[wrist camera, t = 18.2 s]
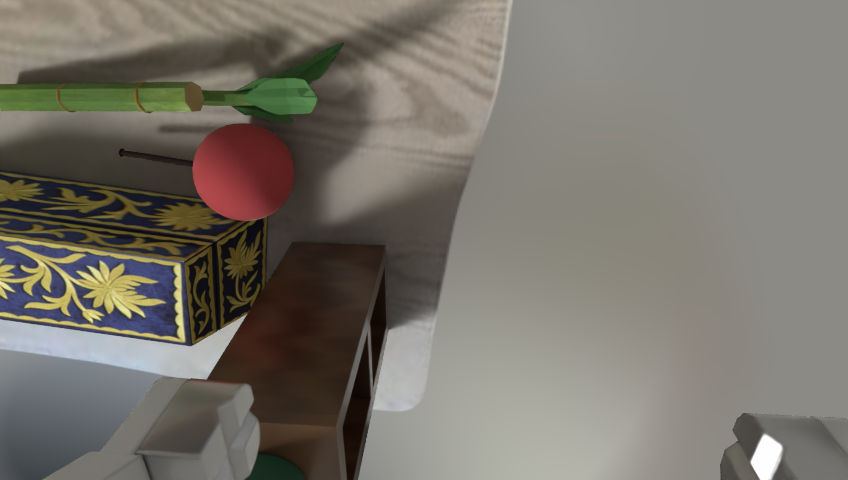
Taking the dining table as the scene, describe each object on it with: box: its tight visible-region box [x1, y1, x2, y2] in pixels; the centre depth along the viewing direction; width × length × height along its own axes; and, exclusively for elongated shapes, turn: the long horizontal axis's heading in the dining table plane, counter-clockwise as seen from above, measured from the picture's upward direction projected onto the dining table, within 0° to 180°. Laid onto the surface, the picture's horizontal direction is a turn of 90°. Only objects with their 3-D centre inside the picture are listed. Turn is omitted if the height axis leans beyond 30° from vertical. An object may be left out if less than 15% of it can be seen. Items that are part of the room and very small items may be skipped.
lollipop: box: [119, 124, 294, 221], centre depth 43 cm, size 8×8×15 cm
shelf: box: [207, 242, 388, 480], centre depth 42 cm, size 9×10×22 cm
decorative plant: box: [0, 43, 344, 123], centre depth 41 cm, size 6×8×30 cm
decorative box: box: [0, 171, 267, 346], centre depth 46 cm, size 11×30×9 cm, turn 83°
